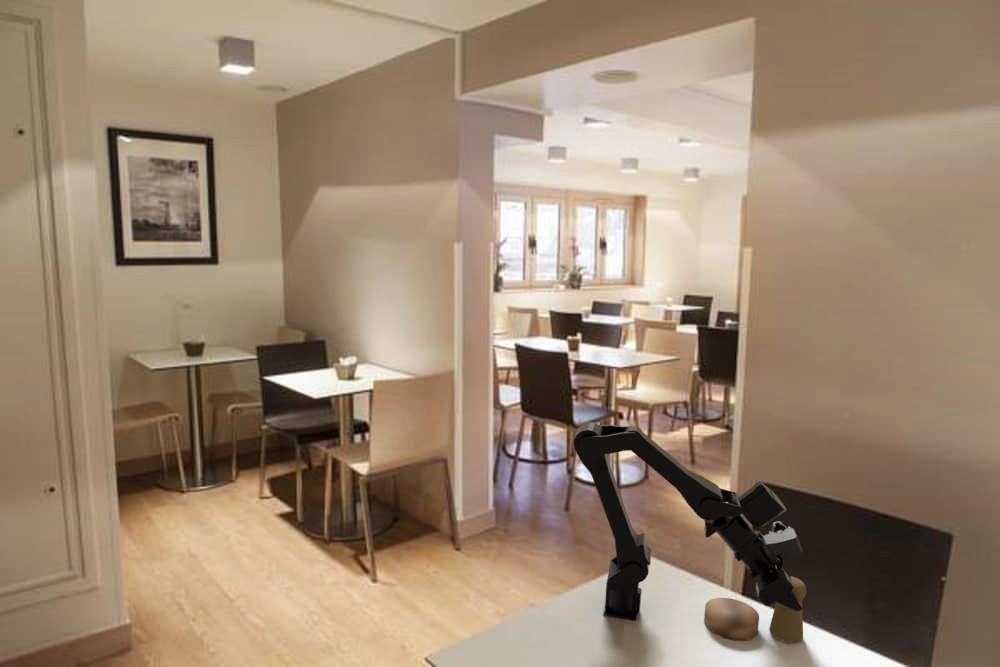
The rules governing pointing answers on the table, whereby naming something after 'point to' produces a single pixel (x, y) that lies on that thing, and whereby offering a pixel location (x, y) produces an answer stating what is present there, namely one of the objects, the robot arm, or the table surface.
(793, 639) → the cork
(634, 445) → the robot arm
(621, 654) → the table surface
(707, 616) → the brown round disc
